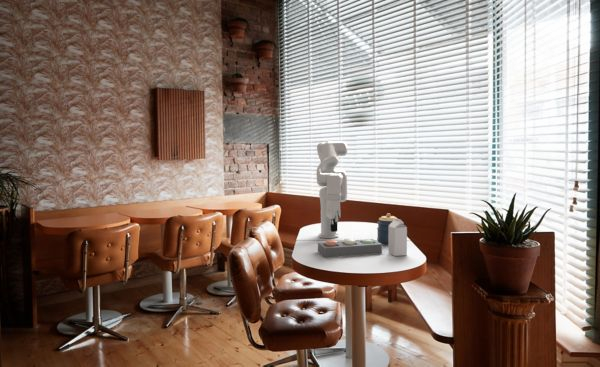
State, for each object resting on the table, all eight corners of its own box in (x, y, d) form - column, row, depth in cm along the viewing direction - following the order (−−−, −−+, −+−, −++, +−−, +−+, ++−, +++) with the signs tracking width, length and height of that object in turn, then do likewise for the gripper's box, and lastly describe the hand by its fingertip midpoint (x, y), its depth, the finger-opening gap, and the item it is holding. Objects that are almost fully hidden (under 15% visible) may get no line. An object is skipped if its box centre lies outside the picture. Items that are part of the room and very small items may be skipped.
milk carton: (394, 256, 219) (394, 220, 217) (388, 253, 226) (388, 218, 224) (406, 255, 221) (407, 219, 219) (400, 252, 228) (400, 217, 226)
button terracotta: (324, 245, 228) (323, 240, 227) (334, 244, 229) (334, 239, 229) (327, 247, 222) (327, 242, 222) (338, 246, 223) (338, 241, 223)
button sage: (360, 244, 233) (360, 239, 232) (370, 243, 234) (370, 238, 234) (364, 246, 227) (364, 242, 227) (375, 246, 228) (375, 241, 228)
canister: (399, 245, 243) (400, 215, 241) (376, 244, 245) (377, 214, 244) (399, 240, 255) (399, 211, 254) (377, 239, 258) (377, 211, 256)
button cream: (342, 243, 230) (342, 238, 230) (352, 243, 232) (352, 238, 231) (346, 246, 224) (346, 241, 224) (356, 245, 226) (356, 240, 225)
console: (317, 251, 231) (317, 242, 230) (372, 247, 238) (372, 238, 238) (324, 257, 218) (324, 248, 218) (382, 253, 226) (382, 244, 225)
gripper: (322, 196, 230) (323, 229, 231) (331, 199, 215) (331, 234, 217) (335, 195, 232) (335, 228, 233) (345, 198, 217) (345, 233, 219)
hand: (334, 231), depth 225 cm, fingers closed
